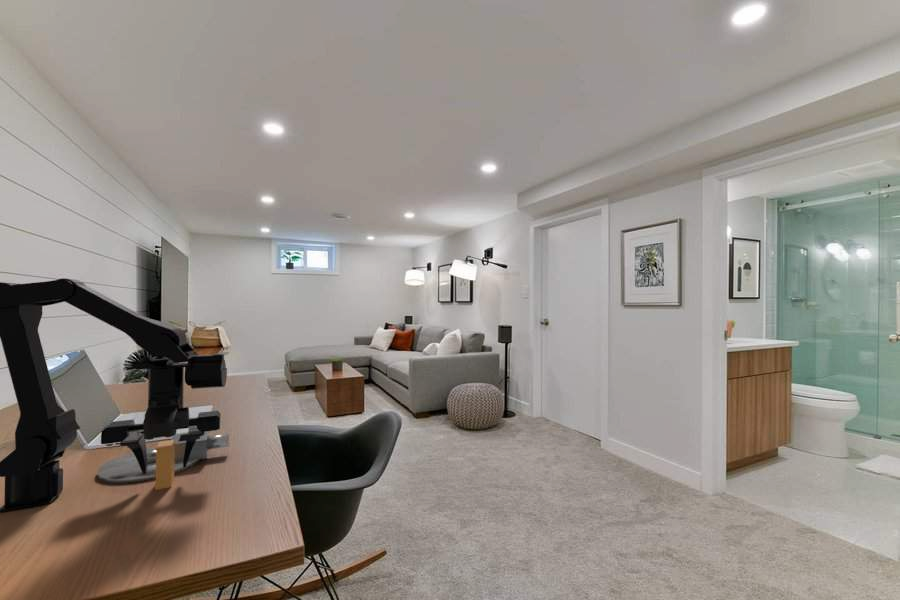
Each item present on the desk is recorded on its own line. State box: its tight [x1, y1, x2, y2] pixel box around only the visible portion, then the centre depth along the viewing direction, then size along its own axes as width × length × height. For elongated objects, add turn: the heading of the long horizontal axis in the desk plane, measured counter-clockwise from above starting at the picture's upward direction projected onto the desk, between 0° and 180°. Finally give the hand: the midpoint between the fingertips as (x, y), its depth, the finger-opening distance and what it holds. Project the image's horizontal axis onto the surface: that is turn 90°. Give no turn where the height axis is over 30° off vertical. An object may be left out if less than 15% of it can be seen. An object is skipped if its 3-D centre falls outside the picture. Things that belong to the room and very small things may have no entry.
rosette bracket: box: [97, 431, 230, 484], centre depth 90 cm, size 24×18×5 cm
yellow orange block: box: [155, 439, 175, 491], centre depth 79 cm, size 2×4×8 cm, turn 28°
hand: (165, 470), depth 79 cm, fingers open, 6 cm apart
